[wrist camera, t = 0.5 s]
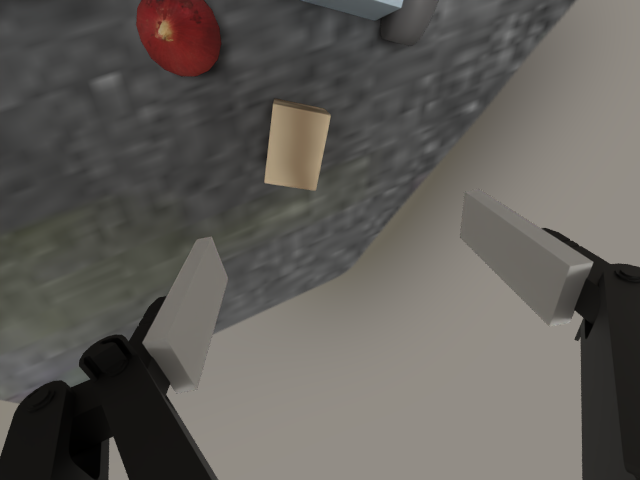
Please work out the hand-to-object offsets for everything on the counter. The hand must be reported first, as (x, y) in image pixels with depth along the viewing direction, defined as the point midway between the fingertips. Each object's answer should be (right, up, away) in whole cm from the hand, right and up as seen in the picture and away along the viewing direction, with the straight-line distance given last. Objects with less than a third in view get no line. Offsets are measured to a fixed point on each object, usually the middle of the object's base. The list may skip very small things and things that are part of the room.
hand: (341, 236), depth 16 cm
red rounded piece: (-12, +18, +11) cm, 24 cm away
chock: (-4, +10, +16) cm, 19 cm away
